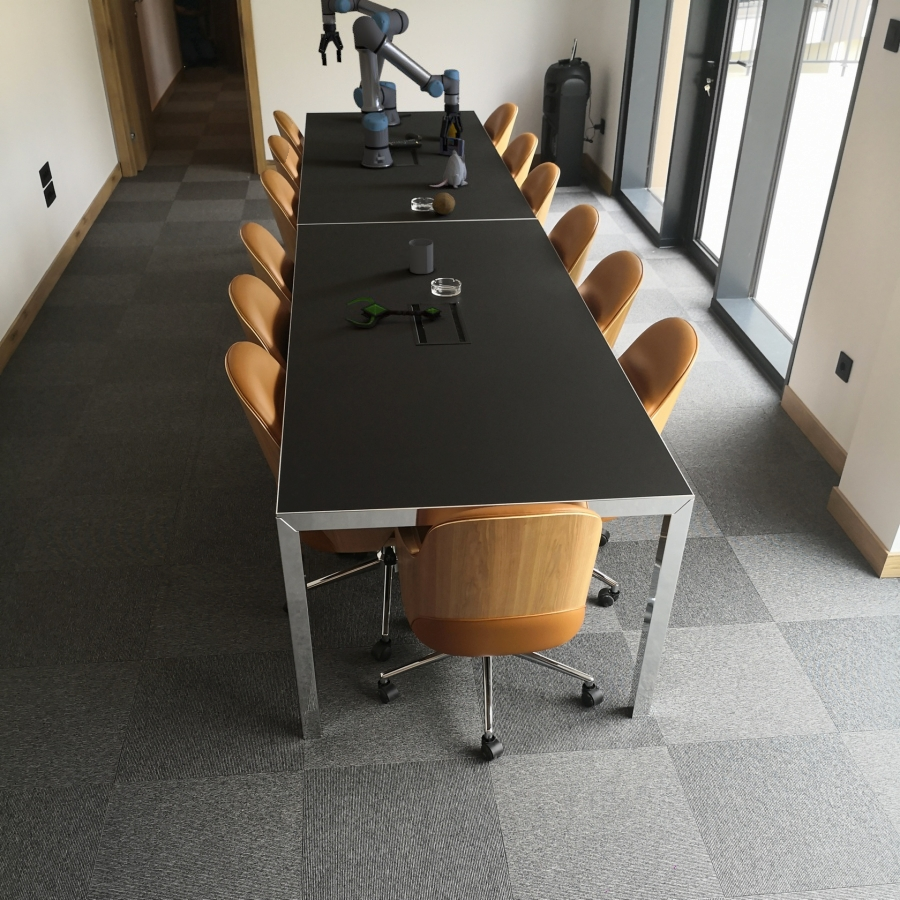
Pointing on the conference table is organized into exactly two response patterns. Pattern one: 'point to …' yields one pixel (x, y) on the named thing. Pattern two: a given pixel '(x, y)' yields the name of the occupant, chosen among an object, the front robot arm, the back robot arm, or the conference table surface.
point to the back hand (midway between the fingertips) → (332, 64)
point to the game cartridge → (453, 146)
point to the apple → (451, 131)
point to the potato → (443, 203)
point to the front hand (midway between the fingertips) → (451, 148)
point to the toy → (454, 171)
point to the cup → (421, 256)
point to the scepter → (388, 312)
